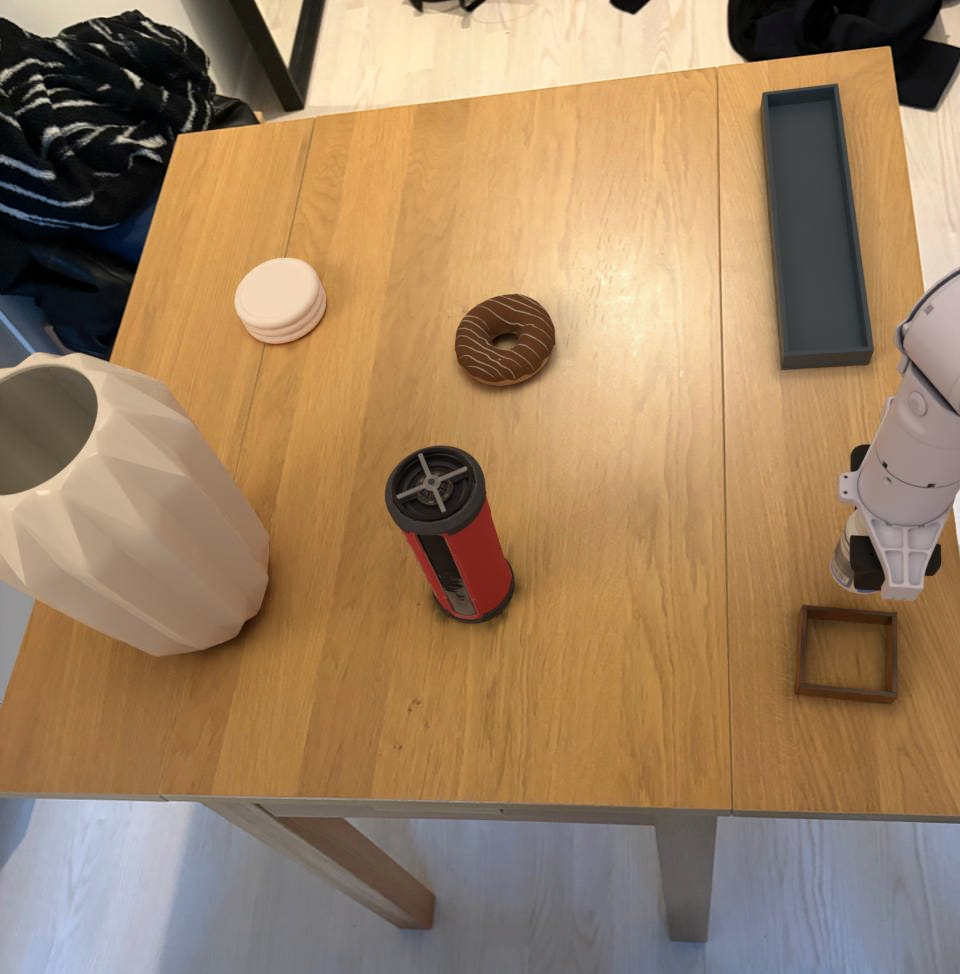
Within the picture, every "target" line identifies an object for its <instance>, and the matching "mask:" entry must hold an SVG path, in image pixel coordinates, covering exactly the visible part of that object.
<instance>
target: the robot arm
mask: <svg viewBox="0 0 960 974" xmlns="http://www.w3.org/2000/svg"><path fill="white" fill-rule="evenodd" d="M893 344H894V346H895V348H896V349H897V350H898V351H899V352H900V354H901V356H900V359H899V361H898V364H897V366H896V370H897V372H898V373H899V374H900V377H901V378H902V379H901V381H900V383H899V385H898V388H897V390H896V392H895V394H894V395H892V396H891V395H888V396H887V397H886V399H885V402H884V404H883V406H882V409H881V411H880V414H879V415H880V417H879V418H880V420H879V422H880V425H879V426H878V429H877V430H876V433H875V434H874V437H873V439H872V441H871V442H870V443H865V444H864V443H862V444H859V445H857V446H855V447H854V448H853V449H852V451H851V452H850V457H849V459H850V460H849V462H850V464H849V465H850V467H849V468H850V469H849V470H850V471H844V472H842V473H840V474H839V477H838V480H837V491H836V496H837V500H838V501H839V502H840V503H843V504H850V505H853V506H854V509H853V512H854V511H855V510H856V509H857V510H858V512H859V514H860V517H861V519H862V521H863V524H864V526H865V528H866V530H867V533H868V535H869V536H860V535H851V536H850V549H849V559H850V565H851V568H852V570H853V571H854V588H855V589H861V590H875V591H878V592H880V598H881V599H882V600H892V601H905V602H907V601H908V602H915V601H916V600H917V598H918V597H919V595H920V594H921V592H923V590H924V588H925V577H934V576H935V575H936V574H937V573H938V571H939V570H940V568H941V566H942V563H943V562H942V544H940V543H938V541H939V539H940V537H941V534H942V532H943V529H944V527H945V525H946V523H947V520H948V518H949V515H950V514H951V511H952V509H953V506H954V503H955V501H956V497H957V494H958V493H959V491H960V266H958V267H956V268H954V269H953V270H952V271H949V272H948V273H946V274H945V275H943V276H942V277H941V278H940V279H938V280H937V281H936V282H935V283H934V284H933V285H931V286H930V287H929V288H928V289H927V290H926V291H925V292H924V293H923V294H922V295H921V296H920V297H919V298H918V299H917V301H916V302H915V303H914V304H913V305H912V307H911V309H910V310H909V312H908V313H907V315H906V317H905V318H904V319H903V320H902V321H900V322H899V323H898V324H897V325H896V327H895V329H894V333H893Z"/></svg>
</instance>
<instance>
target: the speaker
mask: <svg viewBox="0 0 960 974" xmlns="http://www.w3.org/2000/svg"><path fill="white" fill-rule="evenodd" d="M389 474H390V475H389V476H388V479H387V481H386V483H385V488H384V502H385V506H386V509H387V511H388V513H389V516H390V517H391V519H392V521H393V522H394V523H395V525H396V526H397V527H398V528H399V529H400V531H401V533H402V535H403V537H404V540H406V542H407V544H408V546H409V549H410V551H411V552H412V554H413V557H414V558H415V560H416V562H417V563H418V565H419V568H420V569H421V572H422V574H423V575H424V577H425V579H426V581H427V583H428V584H429V587H430V588H431V591H432V596H433V598H434V601H435V602H436V604H437V606H438V607H439V609H440V610H441V611H442V612H443V613H444V614H445V615H446V616H447V617H449V618H451V619H452V620H455V621H458V622H462V623H480V622H483V621H486V620H489V619H491V618H493V617H495V616H496V615H498V614H500V612H501V611H503V610H504V608H505V607H506V606H507V605H508V604H509V602H510V601H511V598H512V597H513V593H514V590H515V583H516V580H515V573H514V571H513V568H512V566H511V564H510V562H509V561H508V560H507V558H505V556H504V552H503V549H502V546H501V543H500V539H499V535H498V533H497V529H496V527H495V523H494V520H493V516H492V510H491V506H490V503H489V500H488V497H487V494H488V493H487V492H488V491H487V490H486V489H487V488H486V478H485V474H484V471H483V469H482V466H481V465H480V463H479V461H478V460H477V459H476V458H475V457H474V456H472V454H471V453H469V452H467V451H466V450H463V449H461V448H460V447H456V446H451V445H445V444H444V445H443V444H441V445H431V446H428V447H423V448H421V449H418V450H416V451H413V452H412V453H410V454H408V455H407V456H405V457H404V458H403V459H402V460H400V462H399V463H397V465H396V466H395V467H394V468H393V470H391V473H389Z"/></svg>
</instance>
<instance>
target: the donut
mask: <svg viewBox="0 0 960 974" xmlns="http://www.w3.org/2000/svg"><path fill="white" fill-rule="evenodd" d="M502 334H514V335H517V342H516V344H515V345H514V346H513V347H511V348H508V349H505V348H501V347H497V346H494V343H493V340H494V339H495V338H496V337H498V336H500V335H502ZM454 339H455V340H454V352H455V355H456V359H457V363H458V364H459V365H460V366H461V367H462V369H463V370H464V371H465V372H466V374H467V375H469V376H470V377H471V378H472V379H474V380H475V381H478V382H480V383H483V384H485V385H491V386H497V387H498V386H499V387H501V386H504V387H505V386H512V385H515V384H519V383H521V382H524V381H526V380H528V379H530V378H531V377H533V376H534V375H536V374H537V373H538V372H539V371H540V370H541V369H542V368H543V367H544V366H545V365H546V364H547V362H548V361H549V359H550V357H551V355H552V353H553V349H554V347H555V346H556V345H557V344H556V328H555V325H554V323H553V321H552V318H551V316H550V314H549V313H548V310H547V309H545V307H544V306H543V305H542V304H541V303H539V301H537V300H535V299H534V298H532V297H529V296H527V295H524V294H520V293H510V294H501V295H497V296H494V297H491V298H487V299H486V300H483V301H481V302H480V303H478V304H476V305H475V306H473V307H472V308H471V309H470V310H469V311H468V312H467V313H466V314H465V315H464V316H463V317H462V318H461V320H460V322H459V324H458V326H457V328H456V332H455V338H454Z"/></svg>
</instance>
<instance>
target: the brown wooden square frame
mask: <svg viewBox="0 0 960 974" xmlns="http://www.w3.org/2000/svg"><path fill="white" fill-rule="evenodd" d="M797 617H798V618H797V641H796V663H795V664H796V665H795V668H796V669H795V685H794V687H795V691H794V694H795V695H800V696H809V697H810V696H811V697H819V698H820V697H821V698H829V699H838V700H848V701H858V702H867V703H875V704H885V705H892V704H893V703H894V702H895V701H896V700H897V699H898V698H899V691H898V690H899V687H898V680H899V679H898V675H899V673H898V672H899V671H898V670H899V669H898V665H899V664H898V612H896V611H884V610H872V609H860V608H859V609H858V608H846V607H836V606H835V607H834V606H821V605H812V604H811V605H810V604H802V605H801V607H800V610H799V611H798V615H797ZM807 619H815V620H827V621H839V622H849V623H862V624H873V625H885V652H886V653H885V691H884V690H883V691H882V690H874V689H872V690H871V689H863V688H853V687H842V686H833V685H823V684H816V683H815V684H814V683H805V678H806V677H805V676H806V675H805V674H806V668H805V667H806V648H807V647H806V646H807V622H808V621H807Z"/></svg>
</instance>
